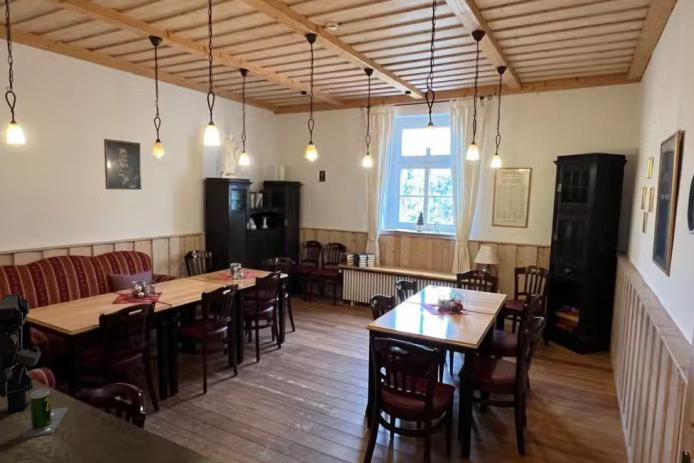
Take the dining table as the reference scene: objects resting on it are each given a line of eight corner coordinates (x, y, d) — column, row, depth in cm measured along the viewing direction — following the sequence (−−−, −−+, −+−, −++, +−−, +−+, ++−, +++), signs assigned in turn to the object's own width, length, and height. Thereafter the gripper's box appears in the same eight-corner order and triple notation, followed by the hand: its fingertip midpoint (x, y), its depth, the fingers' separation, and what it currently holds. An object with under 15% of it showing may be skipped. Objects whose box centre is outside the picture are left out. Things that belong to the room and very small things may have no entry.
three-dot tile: (33, 424, 143) (33, 422, 143) (60, 421, 145) (60, 419, 145) (22, 437, 135) (22, 435, 135) (51, 434, 137) (51, 431, 137)
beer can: (30, 432, 136) (27, 396, 135) (33, 424, 141) (31, 390, 140) (50, 428, 139) (48, 393, 138) (53, 421, 143) (51, 386, 142)
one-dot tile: (42, 412, 151) (42, 410, 151) (68, 409, 153) (68, 407, 153) (32, 424, 143) (32, 421, 143) (59, 420, 145) (59, 418, 145)
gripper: (23, 352, 133) (26, 400, 134) (47, 334, 151) (49, 376, 152) (-20, 356, 130) (-16, 405, 131) (10, 336, 148) (13, 380, 149)
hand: (10, 390), depth 141 cm, fingers open, 9 cm apart
